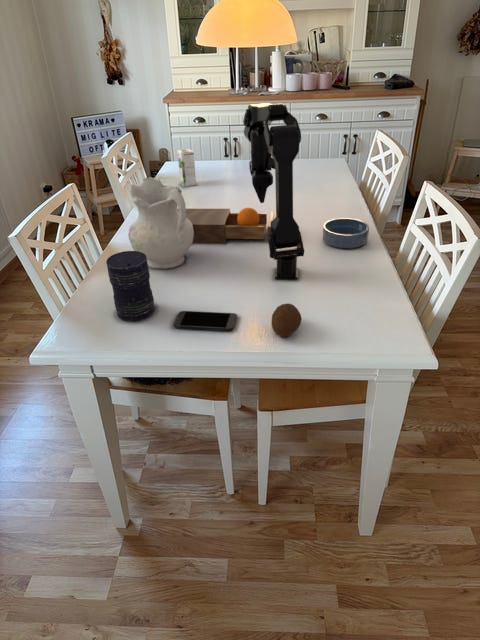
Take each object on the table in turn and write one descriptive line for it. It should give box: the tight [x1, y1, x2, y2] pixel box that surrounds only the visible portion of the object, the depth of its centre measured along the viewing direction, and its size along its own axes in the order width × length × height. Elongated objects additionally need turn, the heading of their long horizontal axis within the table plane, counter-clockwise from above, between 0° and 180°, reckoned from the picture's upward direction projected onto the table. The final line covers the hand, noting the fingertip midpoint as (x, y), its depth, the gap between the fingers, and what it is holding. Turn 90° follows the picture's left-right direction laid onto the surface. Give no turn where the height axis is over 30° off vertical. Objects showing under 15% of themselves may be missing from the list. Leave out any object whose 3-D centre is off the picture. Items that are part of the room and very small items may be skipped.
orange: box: [237, 207, 259, 226], centre depth 160 cm, size 7×7×7 cm
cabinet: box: [177, 208, 231, 245], centre depth 164 cm, size 19×15×7 cm
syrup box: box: [177, 148, 197, 188], centre depth 209 cm, size 6×6×14 cm
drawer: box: [225, 211, 275, 240], centre depth 161 cm, size 22×13×5 cm, turn 83°
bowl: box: [322, 217, 370, 249], centre depth 155 cm, size 14×14×5 cm
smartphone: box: [172, 310, 238, 332], centre depth 119 cm, size 7×15×1 cm, turn 81°
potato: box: [271, 302, 303, 338], centre depth 113 cm, size 7×10×7 cm
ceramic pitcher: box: [127, 176, 194, 270], centre depth 142 cm, size 22×20×25 cm
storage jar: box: [105, 250, 156, 323], centre depth 121 cm, size 10×10×15 cm
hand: (261, 197), depth 156 cm, fingers open, 9 cm apart
